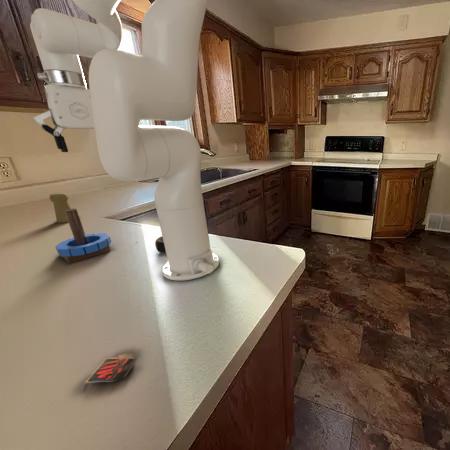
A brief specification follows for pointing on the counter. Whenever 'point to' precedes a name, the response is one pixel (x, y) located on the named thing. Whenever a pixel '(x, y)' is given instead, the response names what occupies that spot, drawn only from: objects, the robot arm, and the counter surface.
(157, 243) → the tape measure
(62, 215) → the cork
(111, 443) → the counter surface
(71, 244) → the tape roll
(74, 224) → the stand
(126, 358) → the matchbox
